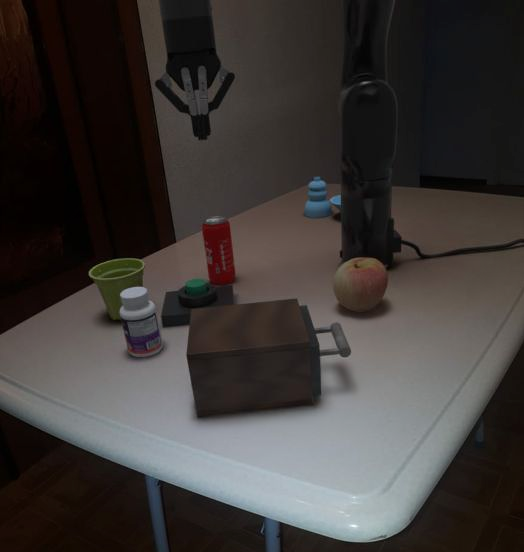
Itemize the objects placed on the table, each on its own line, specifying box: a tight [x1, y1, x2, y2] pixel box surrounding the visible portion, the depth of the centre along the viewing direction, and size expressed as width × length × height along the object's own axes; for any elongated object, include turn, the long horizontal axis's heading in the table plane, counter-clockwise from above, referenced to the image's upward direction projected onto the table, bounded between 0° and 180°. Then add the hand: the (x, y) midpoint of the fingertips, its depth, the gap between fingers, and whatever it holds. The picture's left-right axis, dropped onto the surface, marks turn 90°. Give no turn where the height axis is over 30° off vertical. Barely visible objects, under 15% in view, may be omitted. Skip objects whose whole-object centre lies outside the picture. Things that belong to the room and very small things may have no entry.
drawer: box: [299, 304, 352, 397], centre depth 73 cm, size 18×11×7 cm, turn 94°
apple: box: [332, 258, 389, 313], centre depth 91 cm, size 9×9×8 cm
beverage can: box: [201, 215, 236, 286], centre depth 105 cm, size 5×5×12 cm
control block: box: [160, 282, 235, 328], centre depth 96 cm, size 12×10×4 cm
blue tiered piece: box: [304, 176, 341, 219], centre depth 137 cm, size 18×10×9 cm, turn 56°
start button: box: [184, 278, 208, 295], centre depth 95 cm, size 4×4×2 cm
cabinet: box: [185, 297, 314, 418], centre depth 73 cm, size 15×13×9 cm
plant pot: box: [88, 257, 146, 321], centre depth 96 cm, size 9×9×9 cm
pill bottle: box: [120, 286, 164, 358], centre depth 84 cm, size 5×5×10 cm
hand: (203, 139), depth 91 cm, fingers closed
